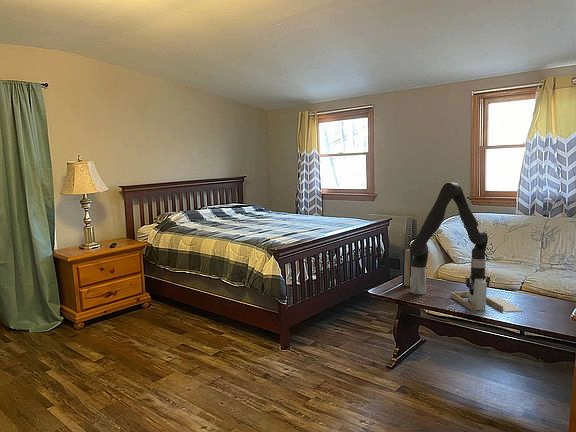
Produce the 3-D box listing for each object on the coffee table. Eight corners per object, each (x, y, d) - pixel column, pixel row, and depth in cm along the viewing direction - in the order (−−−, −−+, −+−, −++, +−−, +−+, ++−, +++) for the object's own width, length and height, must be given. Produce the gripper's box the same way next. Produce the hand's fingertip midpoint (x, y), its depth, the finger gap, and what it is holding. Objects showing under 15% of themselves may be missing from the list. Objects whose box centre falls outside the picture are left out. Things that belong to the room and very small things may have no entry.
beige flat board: (505, 312, 239) (505, 311, 239) (482, 298, 263) (482, 297, 263) (523, 311, 240) (523, 310, 240) (498, 297, 264) (498, 297, 264)
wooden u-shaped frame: (474, 313, 239) (475, 307, 239) (451, 297, 268) (451, 292, 267) (502, 311, 240) (503, 306, 240) (476, 295, 269) (476, 291, 268)
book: (417, 279, 309) (418, 244, 306) (427, 281, 303) (427, 245, 300) (401, 286, 294) (401, 249, 290) (411, 288, 288) (411, 250, 285)
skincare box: (486, 311, 242) (487, 283, 240) (476, 310, 243) (476, 282, 241) (477, 299, 262) (478, 273, 260) (468, 298, 263) (468, 273, 261)
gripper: (486, 263, 254) (485, 291, 256) (462, 265, 253) (462, 293, 255) (493, 266, 246) (492, 295, 248) (469, 268, 245) (468, 297, 247)
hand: (477, 294), depth 252 cm, fingers closed on skincare box, 6 cm apart
